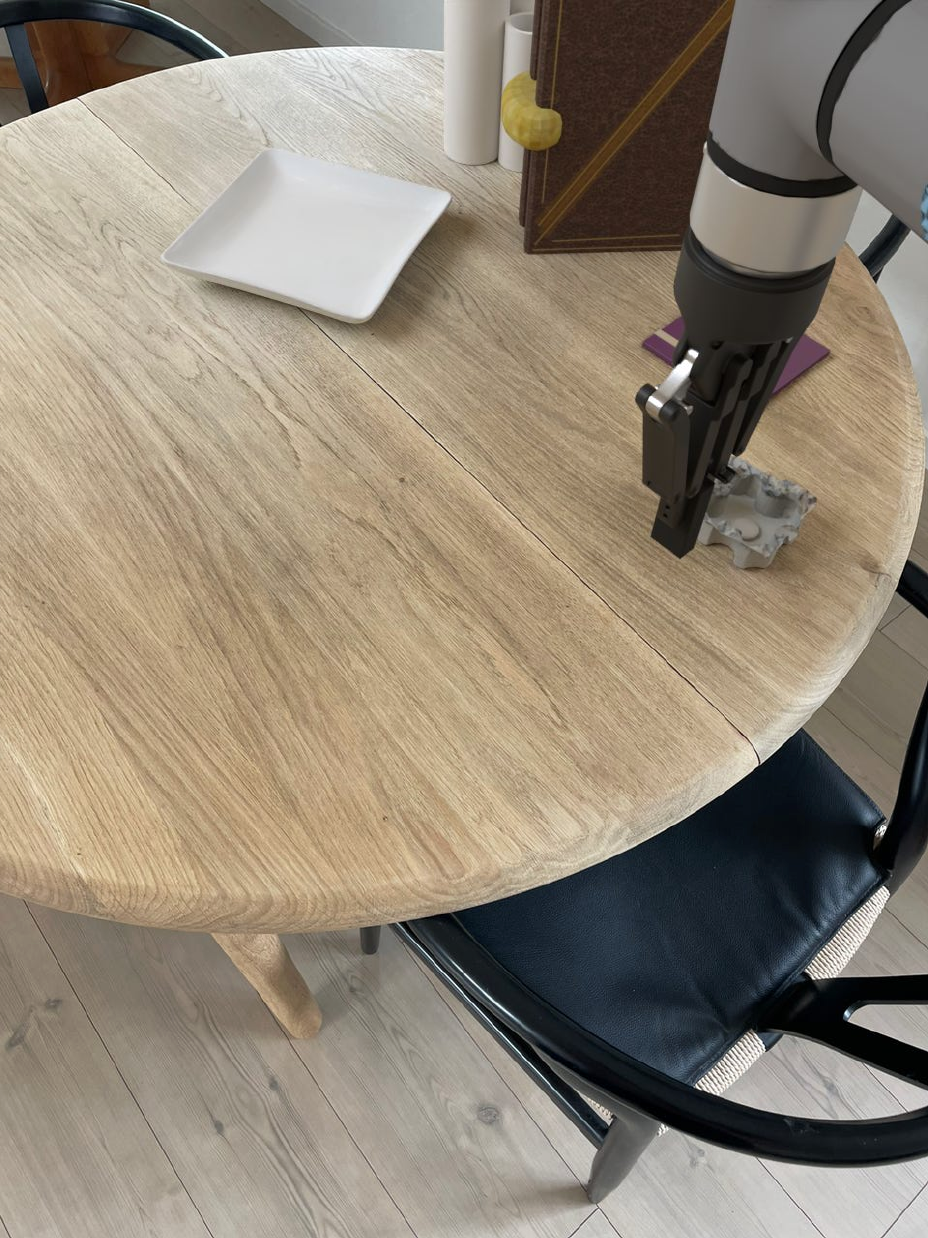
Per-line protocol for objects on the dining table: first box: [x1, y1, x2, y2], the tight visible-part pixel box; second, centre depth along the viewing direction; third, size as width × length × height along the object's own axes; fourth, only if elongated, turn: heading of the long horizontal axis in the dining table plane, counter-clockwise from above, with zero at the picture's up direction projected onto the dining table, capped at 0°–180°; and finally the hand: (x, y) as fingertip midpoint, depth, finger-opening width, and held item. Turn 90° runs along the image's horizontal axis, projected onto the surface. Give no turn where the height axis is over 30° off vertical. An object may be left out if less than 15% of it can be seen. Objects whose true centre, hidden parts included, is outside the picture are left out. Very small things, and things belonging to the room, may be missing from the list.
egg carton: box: [659, 455, 818, 570], centre depth 75 cm, size 11×8×4 cm
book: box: [501, 0, 736, 255], centre depth 88 cm, size 22×8×25 cm, turn 94°
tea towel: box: [641, 316, 831, 399], centre depth 88 cm, size 12×12×1 cm
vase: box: [443, 0, 535, 173], centre depth 98 cm, size 11×7×20 cm, turn 78°
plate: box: [160, 147, 453, 325], centre depth 93 cm, size 21×21×3 cm
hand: (672, 542), depth 67 cm, fingers closed
